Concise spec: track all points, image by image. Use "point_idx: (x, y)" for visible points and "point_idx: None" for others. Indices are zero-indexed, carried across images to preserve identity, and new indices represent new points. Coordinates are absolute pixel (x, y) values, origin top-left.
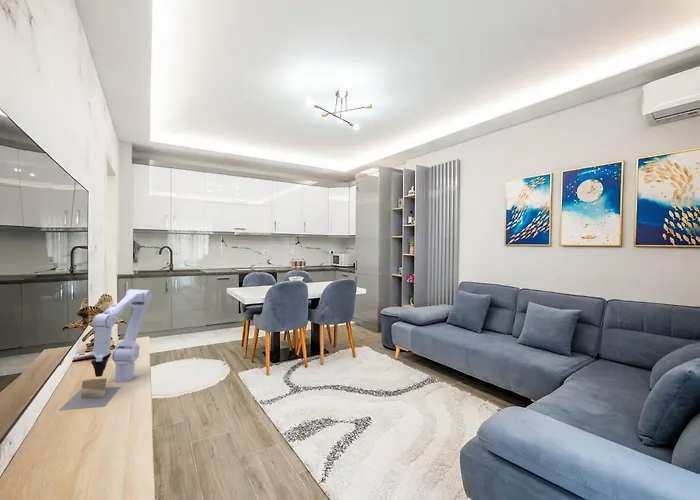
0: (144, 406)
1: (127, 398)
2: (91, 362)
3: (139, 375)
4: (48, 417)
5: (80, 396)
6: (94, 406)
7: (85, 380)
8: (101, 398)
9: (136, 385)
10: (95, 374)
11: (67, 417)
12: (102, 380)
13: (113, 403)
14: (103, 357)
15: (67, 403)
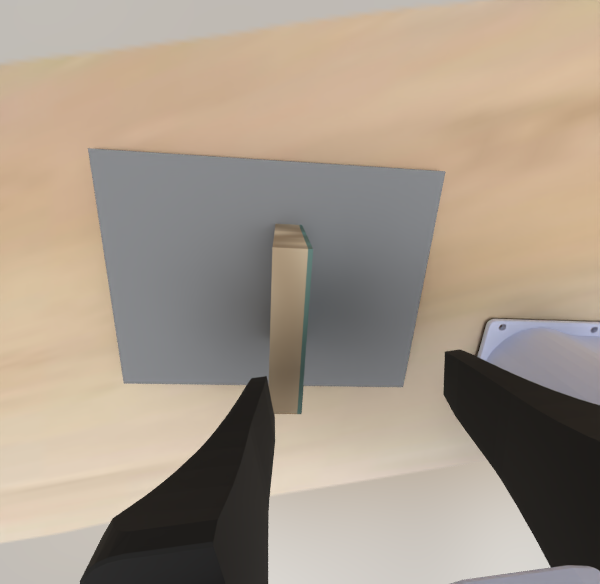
0: None
1: None
2: (105, 541)
3: None
4: (26, 115)
5: (305, 211)
6: (130, 335)
7: (289, 269)
8: (242, 338)
9: (416, 437)
10: (243, 391)
11: (25, 230)
12: None
13: (192, 395)
14: (565, 518)
15: (198, 167)
